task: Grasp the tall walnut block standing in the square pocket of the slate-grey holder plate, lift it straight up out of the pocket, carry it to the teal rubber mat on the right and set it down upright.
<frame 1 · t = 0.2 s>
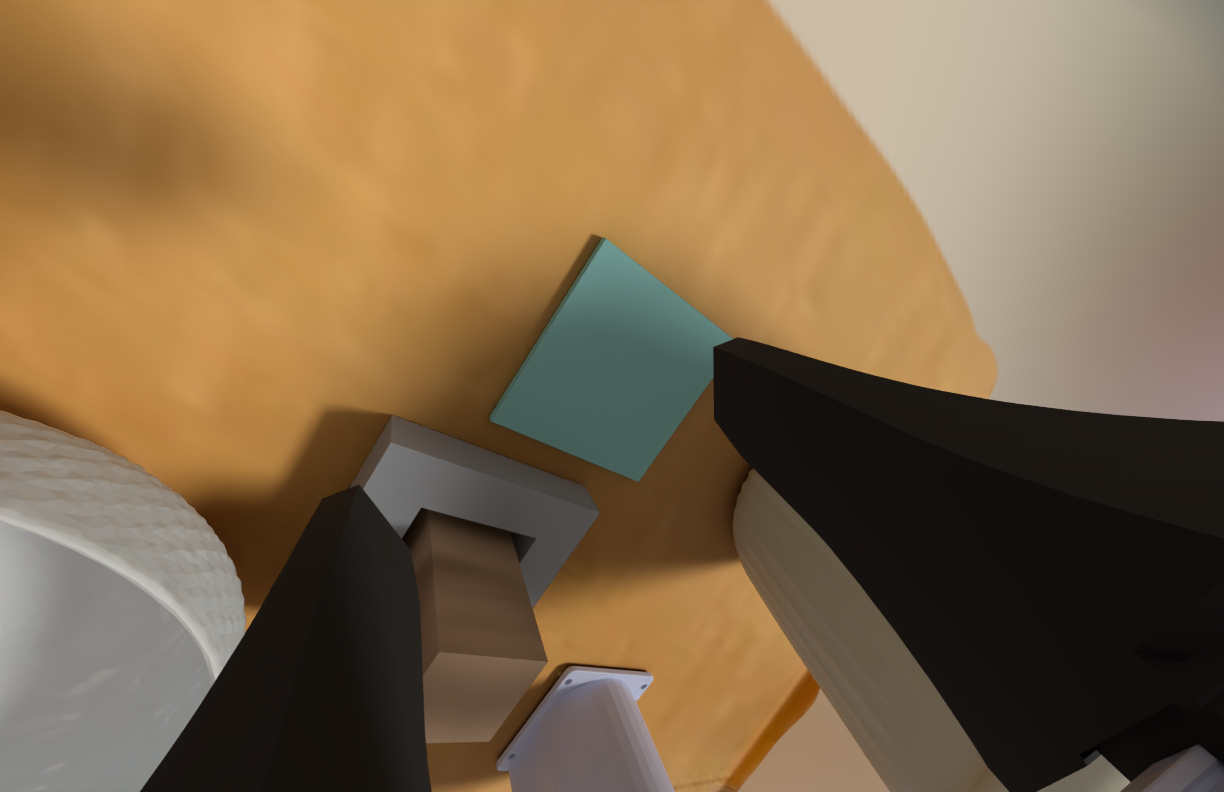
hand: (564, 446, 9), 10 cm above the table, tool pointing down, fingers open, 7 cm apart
canister: (798, 480, 31), on the table
walnut block: (447, 537, 21), resting in pocket plate
pocket plate: (447, 538, 21), on the table
mat: (621, 375, 21), on the table
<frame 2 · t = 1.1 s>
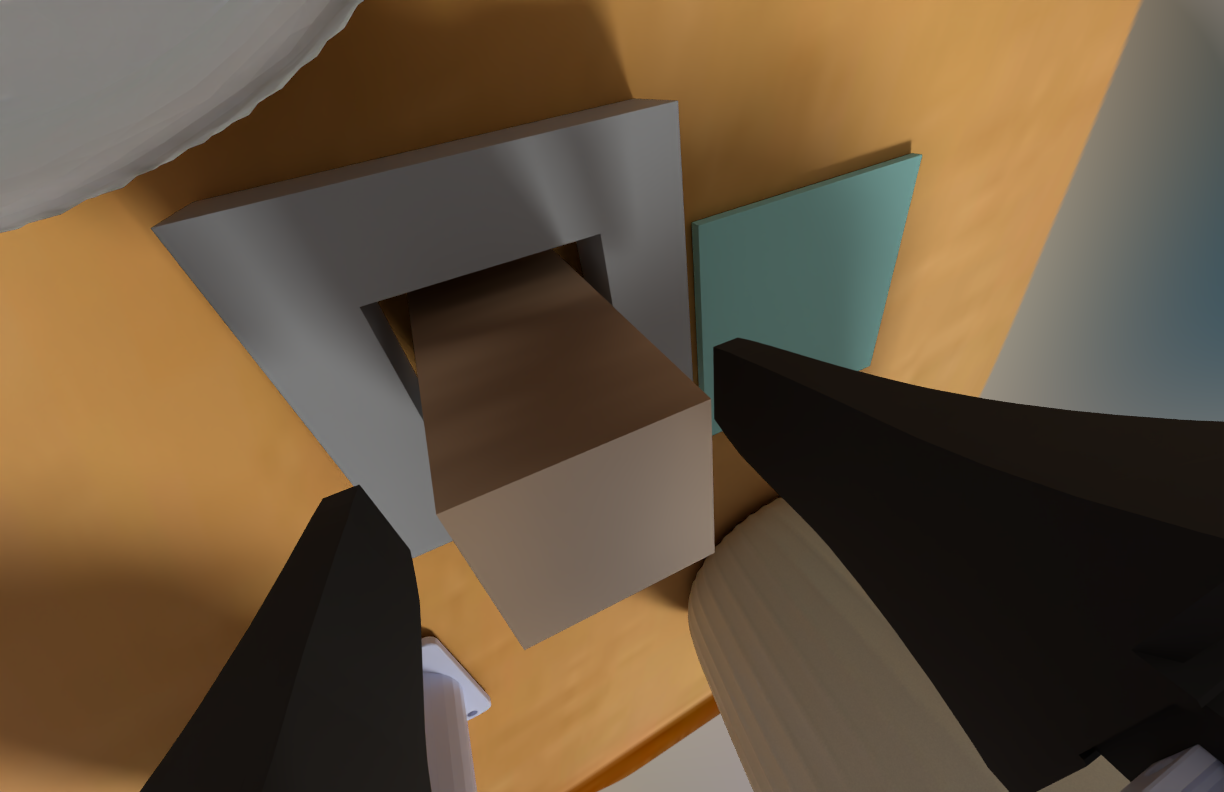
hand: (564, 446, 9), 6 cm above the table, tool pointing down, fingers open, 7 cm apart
canister: (764, 548, 28), on the table
walnut block: (503, 332, 13), resting in pocket plate
pocket plate: (504, 333, 13), on the table
mat: (795, 307, 18), on the table
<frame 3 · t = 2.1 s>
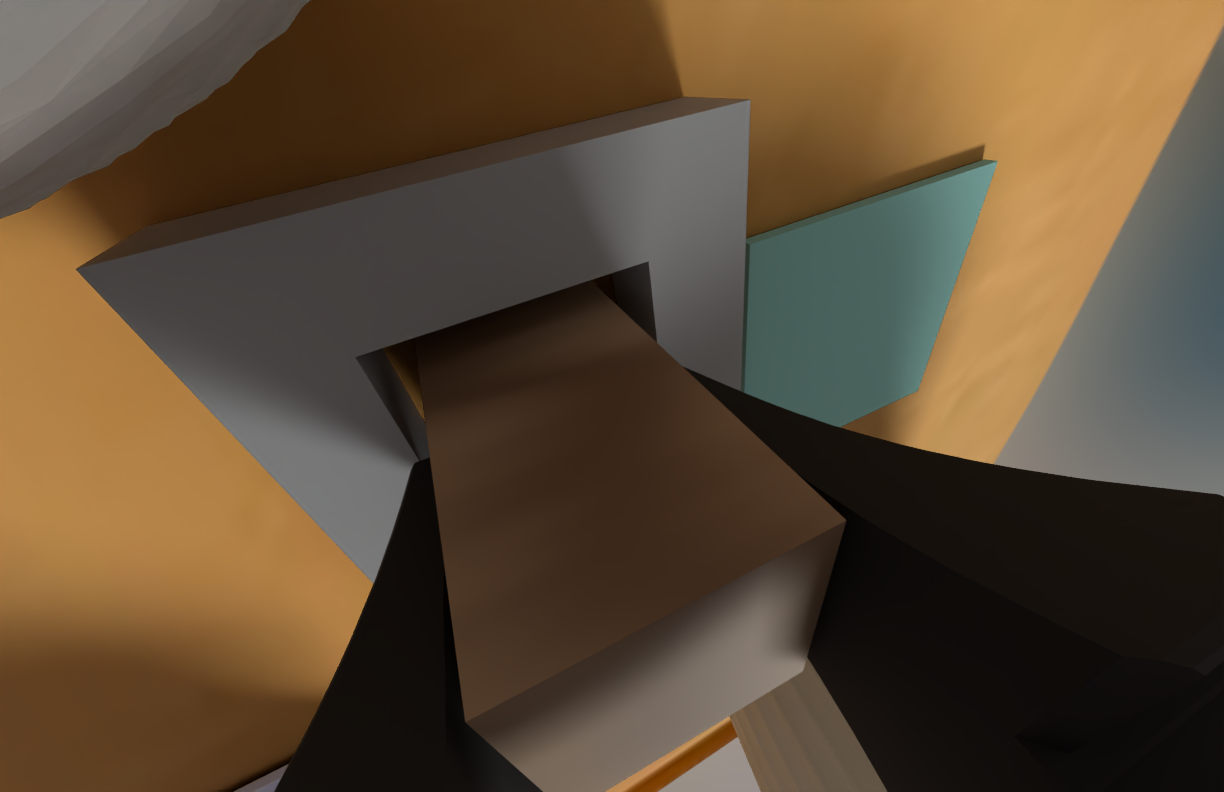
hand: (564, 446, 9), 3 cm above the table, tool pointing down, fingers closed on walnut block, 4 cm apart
canister: (790, 578, 26), on the table
walnut block: (524, 368, 11), resting in pocket plate, touching gripper
pocket plate: (524, 369, 11), on the table
mat: (845, 330, 16), on the table
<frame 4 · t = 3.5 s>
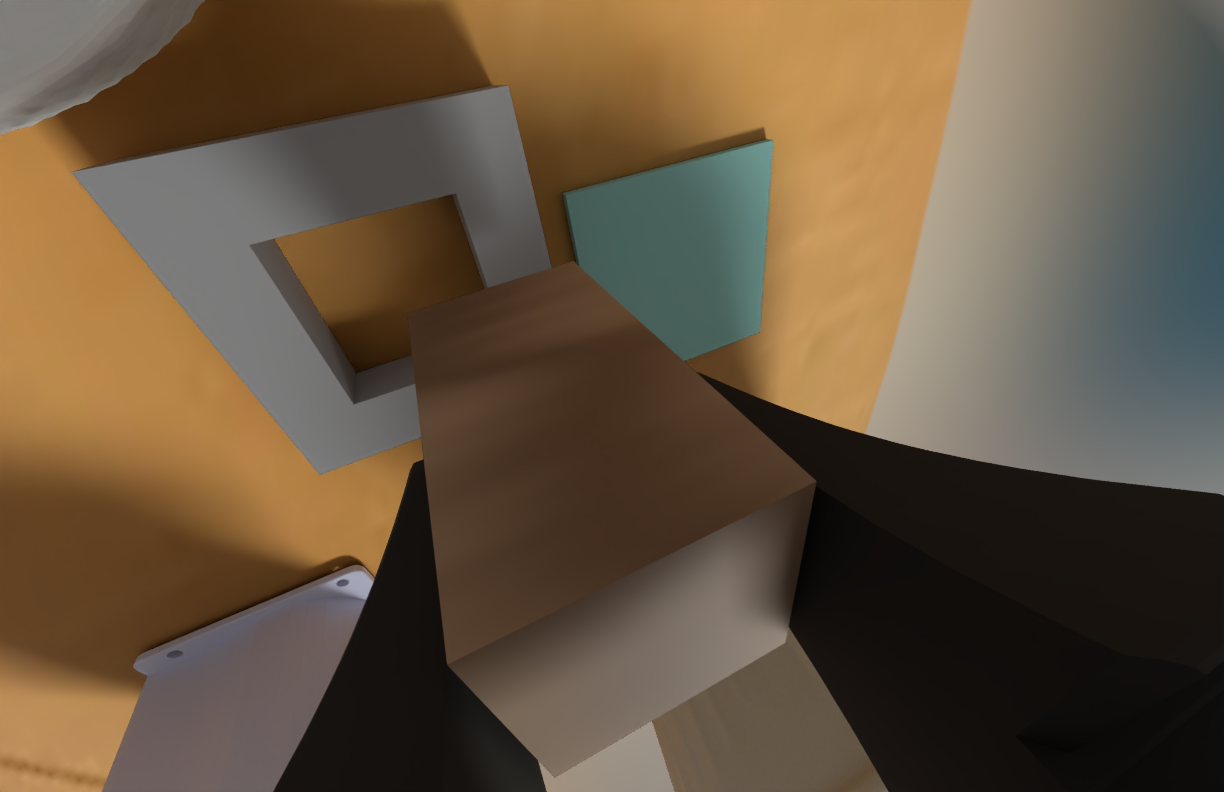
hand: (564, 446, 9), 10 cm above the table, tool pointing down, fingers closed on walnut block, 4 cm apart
canister: (686, 507, 31), on the table
walnut block: (518, 357, 12), point 7 cm above the table, touching gripper
pocket plate: (398, 283, 16), on the table
mat: (676, 274, 20), on the table
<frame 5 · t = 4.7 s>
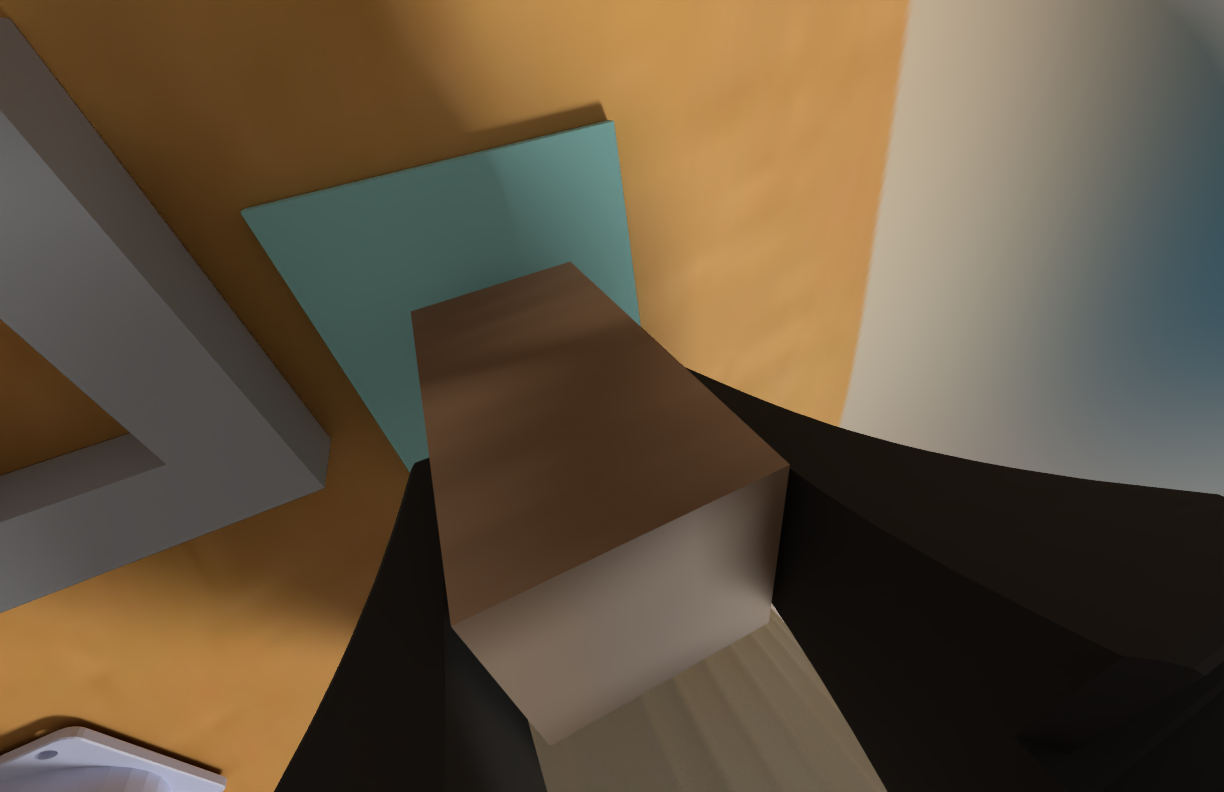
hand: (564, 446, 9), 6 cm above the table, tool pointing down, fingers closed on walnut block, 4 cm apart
canister: (591, 591, 25), on the table
walnut block: (517, 354, 12), point 2 cm above the table, touching gripper
mat: (498, 319, 14), on the table
when the fingers open (5 cm above the table, at t = 5.4 s): walnut block stays where it is, resting on mat.
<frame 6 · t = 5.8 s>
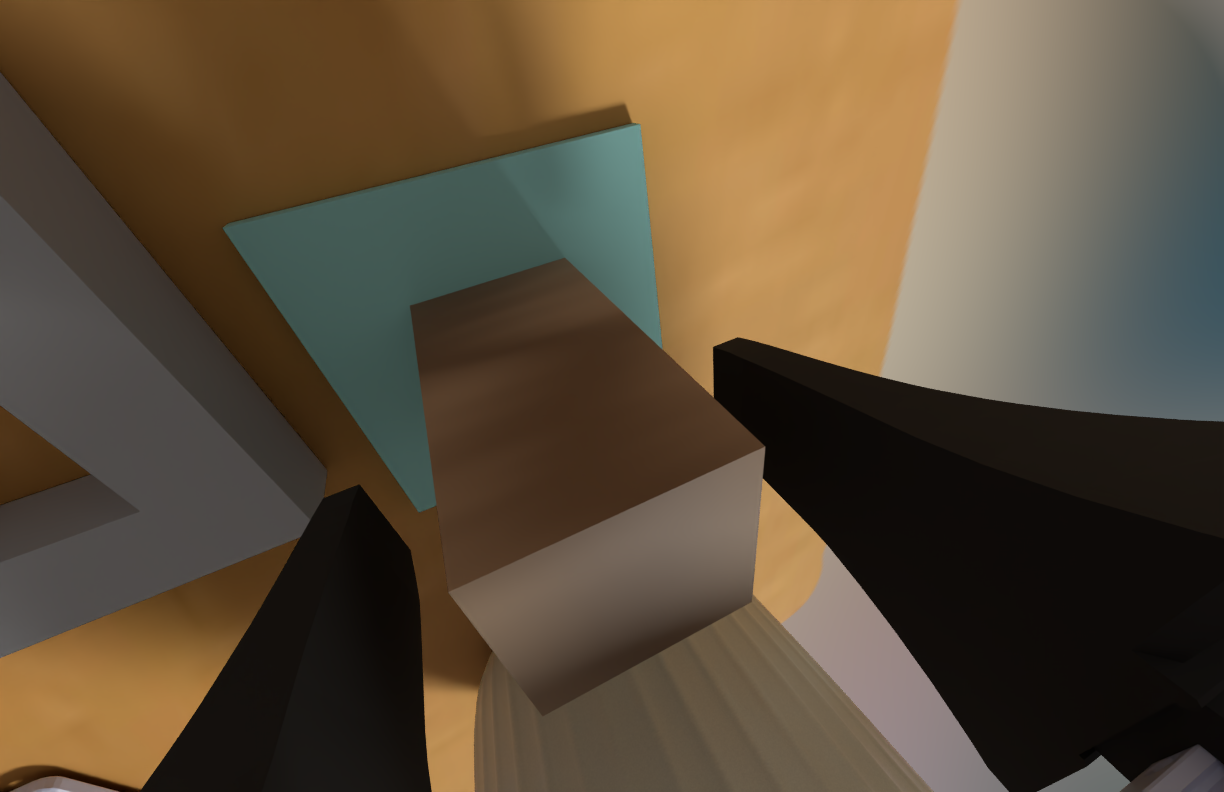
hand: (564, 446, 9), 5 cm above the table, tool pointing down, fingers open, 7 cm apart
canister: (602, 615, 23), on the table
walnut block: (513, 347, 12), resting on mat
mat: (510, 340, 13), on the table
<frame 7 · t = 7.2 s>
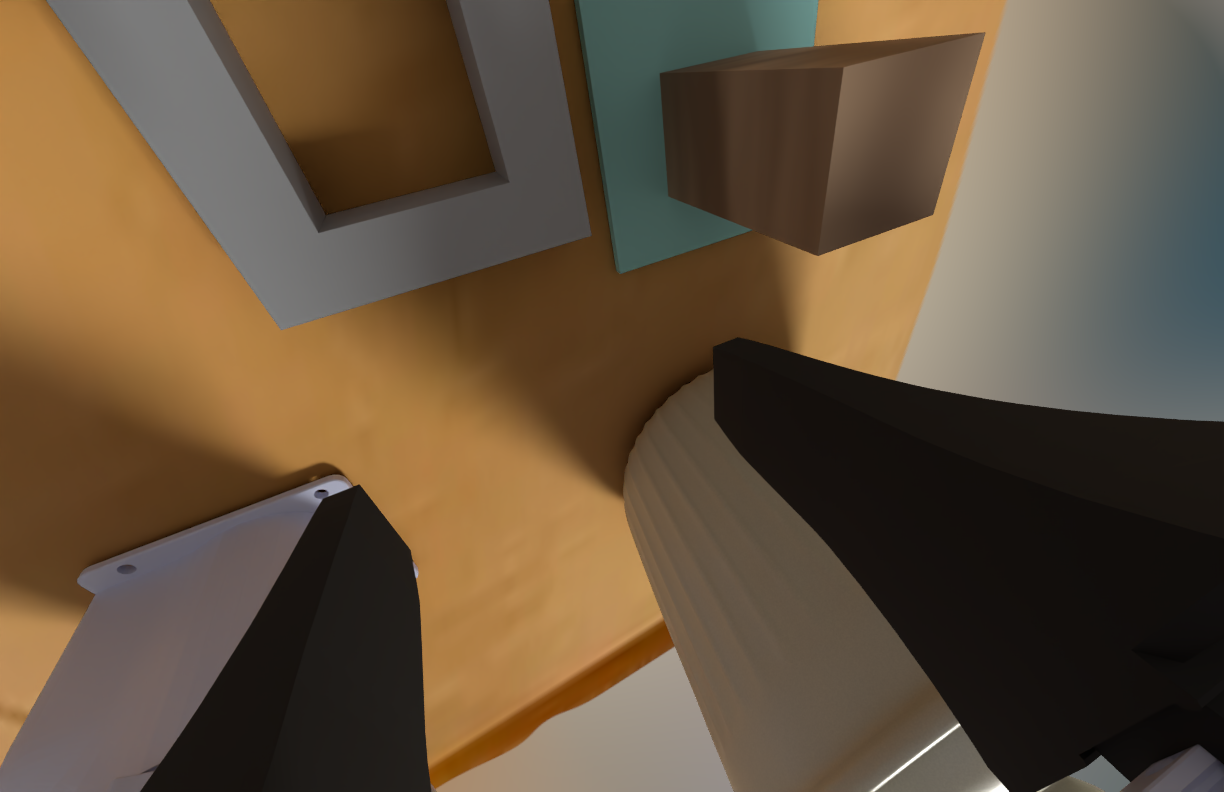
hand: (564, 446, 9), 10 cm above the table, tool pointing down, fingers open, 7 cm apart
canister: (707, 439, 28), on the table
walnut block: (711, 127, 17), resting on mat
pocket plate: (373, 91, 13), on the table
mat: (705, 125, 17), on the table
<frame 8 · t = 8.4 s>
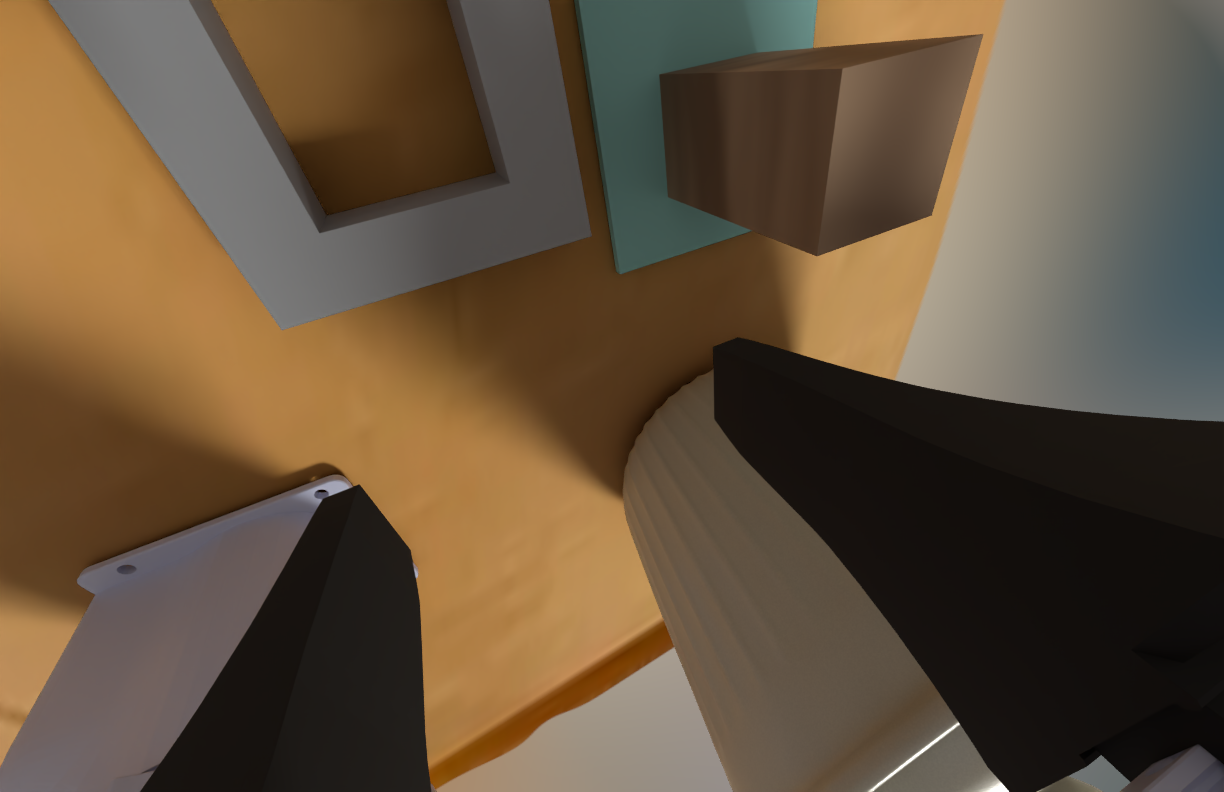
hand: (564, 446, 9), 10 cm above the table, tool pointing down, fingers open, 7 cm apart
canister: (707, 439, 28), on the table
walnut block: (710, 128, 17), resting on mat
pocket plate: (374, 92, 13), on the table
mat: (704, 126, 17), on the table
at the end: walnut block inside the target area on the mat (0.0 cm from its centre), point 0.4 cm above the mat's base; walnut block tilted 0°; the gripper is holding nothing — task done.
